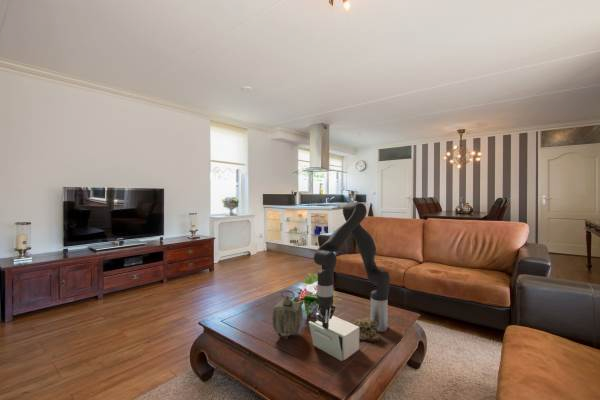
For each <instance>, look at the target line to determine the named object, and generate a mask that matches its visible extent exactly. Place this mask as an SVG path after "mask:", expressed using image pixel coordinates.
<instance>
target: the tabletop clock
mask: <svg viewBox="0 0 600 400" xmlns="http://www.w3.org/2000/svg"><path fill="white" fill-rule="evenodd" d="M280 293H281V294H280V295H281V297H282V298H283V299H284V300H279V301H278V302H277V304H276V305H275V306H274V308H273V310H272V311H273V312H272V327H273V331H274V332H276V333H277V334H282V335H283V334H284V335H285V337H284V339H285V340H286V339H287V340H288V338H289V337H288V335H296V336H300V335H301V334H300V333H299V331H300V329H301V326H302V324H303V316H304V314H303V306H302V303H299V302H297V301H293V300H292V299H293V298H294V297H295V294H294V292H292V291H291V290H283V291H281V292H280ZM283 293H290V294H292V296H291V297H289V295H286V296H284V295H283Z"/></svg>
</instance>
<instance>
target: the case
mask: <svg viewBox="0 0 600 400" xmlns="http://www.w3.org/2000/svg"><path fill="white" fill-rule="evenodd" d="M314 323H315V324H317V325H319V326H321V327H322V322H320V321H319V320H318V319H317V320H316V321H314ZM328 330H330V331H332V332H334V333H336V334H338V336H339V342H340V347H341V352H342V358H343V360H342V361H345V360H346V359H348V358H349V357H351V356H352V355H353V354H355V353H357V352H358V351H359V350H360V339H359V327H358V326H356V325H354V324H353V323H351V322H349V321H347V320H344V319H341V318H339V317H337V316H335V315H333V316H332V318H331V319H329V327H328Z"/></svg>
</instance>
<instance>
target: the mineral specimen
mask: <svg viewBox="0 0 600 400" xmlns="http://www.w3.org/2000/svg"><path fill="white" fill-rule="evenodd" d="M352 324H354V325H356V326H358V327H359V340H360V341H361V340H362V341H367V342H370V343H371V342H372V343H374V342H379V340H380V336H379V335H378V331H377V322H376V321H373V320H371V319H370V317H362V318H357V319H355V320H354V321H353V322H352Z"/></svg>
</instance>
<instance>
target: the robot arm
mask: <svg viewBox="0 0 600 400" xmlns="http://www.w3.org/2000/svg"><path fill="white" fill-rule="evenodd" d="M342 207H343V208H342V215H343V217H344V220H345V222H344V223H343V224H341V225H340V226H339V227H337V228H336V229H335V230H334V231H333V232H332V234H331V235H330V236H329V238H328V239H327V240H326V241H325V242H324V243H323V244H322V245H321V246H320V247H318V248H317V249H316V251H315V252H314V254H313V262H314V263H315V264H317V265H319V266H323V267H324V269H320V270H318V271H317V286H316V299H317V300H316V302H317V305H318V307H317V310H318V311H317V312H315V313H314V316H315V318H316V319H317V321H318V320H319V321H320V322H322V327H324V328H326V329H328V327H329V319H331V318H332V316H334V313H335V310H336V306H334V305H333V304H334V284H333V281H334V280H333V279H334V277H333V275H334V272H335V268H336V264H337V256H336V254H335V253H337V252H339V251H340V249H341V248H342V246H343V245H344V244H345V242H346V240H347V239H348V237H349V236H350V235H351V234H352V236H353V239H354V241H355V244H356V247H357V249H358V252H359V254H360V257H361V260H362V263H363V265H364V269H365V272H366V273H365V274H366V276H367V279H368V282H370V283H371V284H373V285H374V286H376V289H374V290H372V291H371V292H370V304H369V305H370V308H369V310H370V313H369V315H370V316H369V318H370V319H371V320H373V321H376V322H377V332H378V333H379V332H386V331H387V330H388V317H389V316H388V314H389V311H388V299H389V293H390V286H391V285H390V283H391V276H390V274H389V273H390V272H388V271H387V270H383V269H381V268H378V266H377V264H376V262H375V257H376V253H377V247H376V244H375V242H374V239H373V237H372V236H371V235H370V233H369V232H368V231H367V230H366V229H365V227H364V228H363V226H362V225H361V223H362V221H363V220H364V219H365V217H366V216H367V213H368V212H367V211H368V210H367V207H366V205H365V203H363V202H349V203H345V204H344V205H343V206H342Z"/></svg>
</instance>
